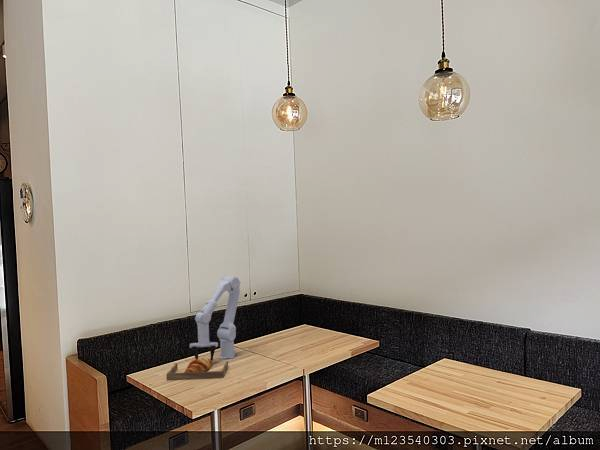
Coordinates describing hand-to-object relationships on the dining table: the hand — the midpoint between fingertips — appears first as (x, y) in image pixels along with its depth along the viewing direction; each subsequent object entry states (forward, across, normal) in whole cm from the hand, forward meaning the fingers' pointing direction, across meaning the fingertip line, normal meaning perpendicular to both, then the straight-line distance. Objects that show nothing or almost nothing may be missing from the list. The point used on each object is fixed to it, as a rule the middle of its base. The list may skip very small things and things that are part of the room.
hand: (204, 360), depth 234 cm
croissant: (+3, 0, -9) cm, 10 cm away
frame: (+2, 0, -14) cm, 15 cm away
